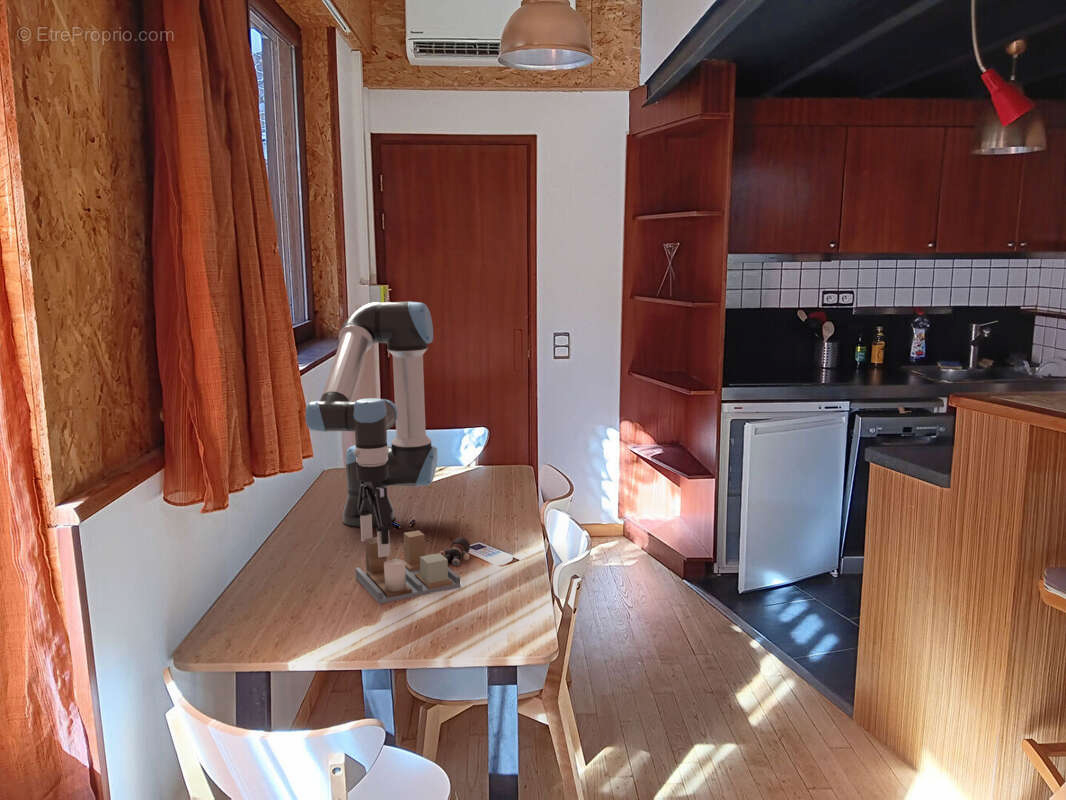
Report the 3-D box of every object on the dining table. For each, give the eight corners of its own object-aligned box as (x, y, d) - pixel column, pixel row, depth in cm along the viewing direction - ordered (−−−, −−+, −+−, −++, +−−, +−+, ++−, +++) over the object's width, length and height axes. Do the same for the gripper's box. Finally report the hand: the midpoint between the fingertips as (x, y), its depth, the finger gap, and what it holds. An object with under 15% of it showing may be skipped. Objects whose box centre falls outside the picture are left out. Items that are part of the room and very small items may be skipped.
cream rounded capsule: (382, 585, 194) (381, 561, 193) (401, 582, 197) (400, 557, 196) (388, 593, 190) (387, 567, 189) (408, 589, 193) (408, 564, 192)
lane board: (354, 576, 205) (352, 541, 204) (431, 562, 215) (429, 528, 213) (378, 603, 189) (377, 565, 187) (460, 586, 198) (459, 550, 197)
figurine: (465, 572, 212) (479, 552, 221) (463, 555, 210) (478, 535, 219) (435, 568, 215) (450, 548, 223) (433, 551, 213) (448, 532, 222)
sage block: (420, 576, 200) (419, 556, 199) (440, 572, 202) (439, 553, 202) (428, 583, 196) (427, 563, 195) (448, 579, 198) (447, 559, 197)
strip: (362, 571, 206) (360, 539, 205) (385, 566, 209) (384, 535, 208) (387, 597, 190) (385, 564, 188) (412, 592, 192) (411, 559, 191)
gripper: (342, 455, 210) (345, 536, 214) (372, 475, 189) (376, 566, 192) (371, 451, 214) (374, 532, 217) (404, 471, 192) (407, 560, 195)
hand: (375, 548), depth 204 cm, fingers open, 13 cm apart
